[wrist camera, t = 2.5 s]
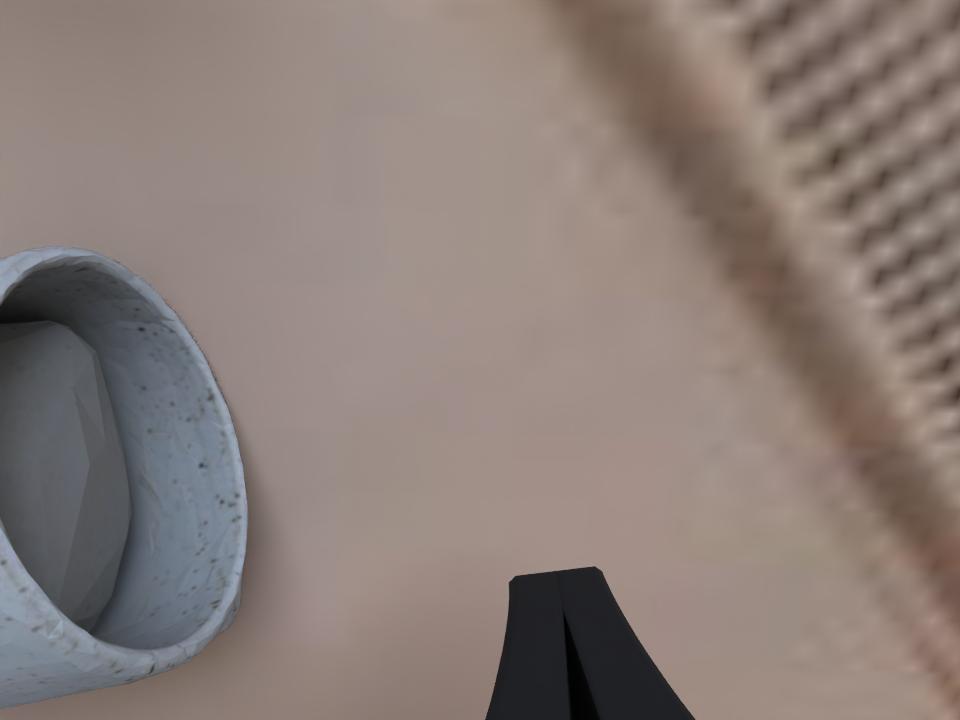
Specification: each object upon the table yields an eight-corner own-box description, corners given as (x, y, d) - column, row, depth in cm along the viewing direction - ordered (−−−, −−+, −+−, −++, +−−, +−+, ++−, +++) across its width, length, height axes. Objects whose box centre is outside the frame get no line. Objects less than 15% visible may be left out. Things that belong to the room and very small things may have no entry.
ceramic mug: (-246, 322, 17) (-666, 601, 11) (101, 180, 16) (-127, 393, 10) (59, 647, 22) (-95, 972, 16) (338, 556, 21) (298, 863, 15)
